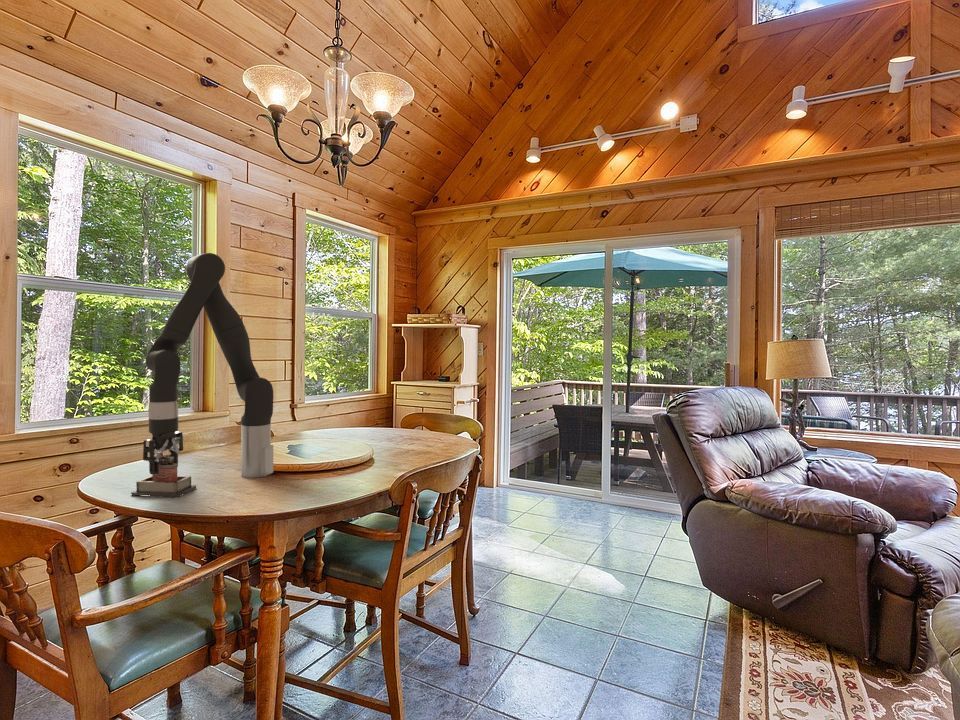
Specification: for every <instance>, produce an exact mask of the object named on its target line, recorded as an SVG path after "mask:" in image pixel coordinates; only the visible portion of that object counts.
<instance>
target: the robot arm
mask: <svg viewBox="0 0 960 720" xmlns="http://www.w3.org/2000/svg"><path fill="white" fill-rule="evenodd" d="M225 265H226V264H225V262H224V261H223V259H222V258H221V257H220V256H219V255H218V254H215V253H211V252H204V253H200V254H198V255H195V256H192V257H191V258H188V260H187V261H186V266H185V271H186V275H187V277H188V279H189V281H190V283H189V285H188V286H187V289H186V291H185V293H184V294H183V295H182V297H181V298H180V299H179V301H178V303H177V304H176V305H175V306H174V308H173V310H172V311H171V313H170V315H169V316H168V318H167V320H166V322H165V324H164V326H163V329H162V331H161V333H160V335H159V336H158V337H157V338H156V340H155V341H154V343H153V344H152V345H151V347H150V348H149V350H148V352H147V354H146V357H145V366H146V368H147V369H149V370H150V371H151V372H153V373H154V377H153V378H154V379H153V382H152V383H150V385H149V389H148V392H149V393H148V394H149V397H148V398H149V399H148V400H149V404H148V433H149V434H151V435H152V436H151V439H144V440H143V443H142V444H143V450H142V451H143V452H142V454H143V455H142V460H143V461H146V462H148V468H149V474H150V475H152V474H158V473H159V457H160V456H163V454H164V452H166V451H167V452H168V453H169V454H168V455H169V456H170V457H174V460H173V463H177V464H178V465H179V454H180V452H183V450H184V439H183V438H184V437H183V432H182V431H179V406H178V383H179V378H180V373H181V367H182V363H181V359H180V356H179V355H178V353H177V351H178V350H179V348H180V347H182V346H184V345H185V344H186V343H187V341H188V339H189V337H190V335H191V333H192V331H193V328H194V326H195V324H196V322H197V320H198V318H199V316H200V314H201V312H202V309H203V308H204V311H205V313H206V316H207V318H208V320H209V323H210V325H211V328H212V331H213V333H214V336H215V338H216V341H217V343H218V344H219V346H220V349H221V352H222V353H223V356H224V358H225V361H227V364H228V366H229V368H230V371H231V373H232V374H231V375H232V378H233V380H234V384H235V386H236V391H237V393H238V396H239V398H240V399H241V400H242V401H243V402H244V413H243V415H242V416H241V418H240V428H241V429H240V437H241V438H240V443H241V444H240V446H241V448H240V453H241V454H240V456H241V458H240V462H241V464H240V465H241V466H240V467H241V469H240V471H241V472H240V473H241V476H242V477H243V478H253V479H255V478H266V477H267V476H269V475H271V474H273V473H274V445H273V444H271V443H272V442H271V439H272V435H271V431H272V422H271V421H272V417H273V413H274V387H273V384H272V382H271V381H269V380H268V379H267V378H265V377H260V375H259V373H258V372H257V369H256V368H255V365H254V362H253V360H252V355H251V344H250V338H249V337H250V336H249V334H248V332H247V329H246V327H245V325H244V324H245V323H244V320H243V319H242V318H241V316H240V314H239V313H238V312H237V310H236V309H235V308H234V307H233V305H232V304H231V302H230V301H229V300H228V299H227V298H226V295H225V294H224V291H223V289H222V287H221V284H220V281H221V279H222V278H223V277H224V275H225V272H226V266H225ZM148 454H149V455H148Z"/></svg>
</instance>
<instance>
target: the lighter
mask: <svg viewBox="0 0 960 720" xmlns="http://www.w3.org/2000/svg"><path fill="white" fill-rule="evenodd" d="M169 455H170V454H166V455H160V457H159V460H158V461H159V473H158V474H151V476H152V480H153V481H158V482H177V476H178V467H179V463H178V464H177V463H173V460H174V457H170V456H169Z"/></svg>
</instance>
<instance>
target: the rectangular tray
mask: <svg viewBox="0 0 960 720" xmlns="http://www.w3.org/2000/svg"><path fill="white" fill-rule="evenodd" d="M135 485H136V490H135V491H134V490H133V491H131V492H130V495H131V494H132V495H150V496H164V497H163V498H174V497H177V498H179V497H181V496H180V495H182V494H184V495H186V494H188V493H189V491H190V492H192V491H194V490H196V489H197V484H196V485H194V484H192V476H189V475H187V476H186V475H177V482H158V481H153V480H152V475H150V476H148V477H145V478H143V479H140V480H137V481H136V484H135ZM193 489H194V490H193ZM191 490H192V491H191ZM187 492H188V493H187ZM185 493H186V494H185ZM178 496H179V497H178ZM182 496H183V495H182Z"/></svg>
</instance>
